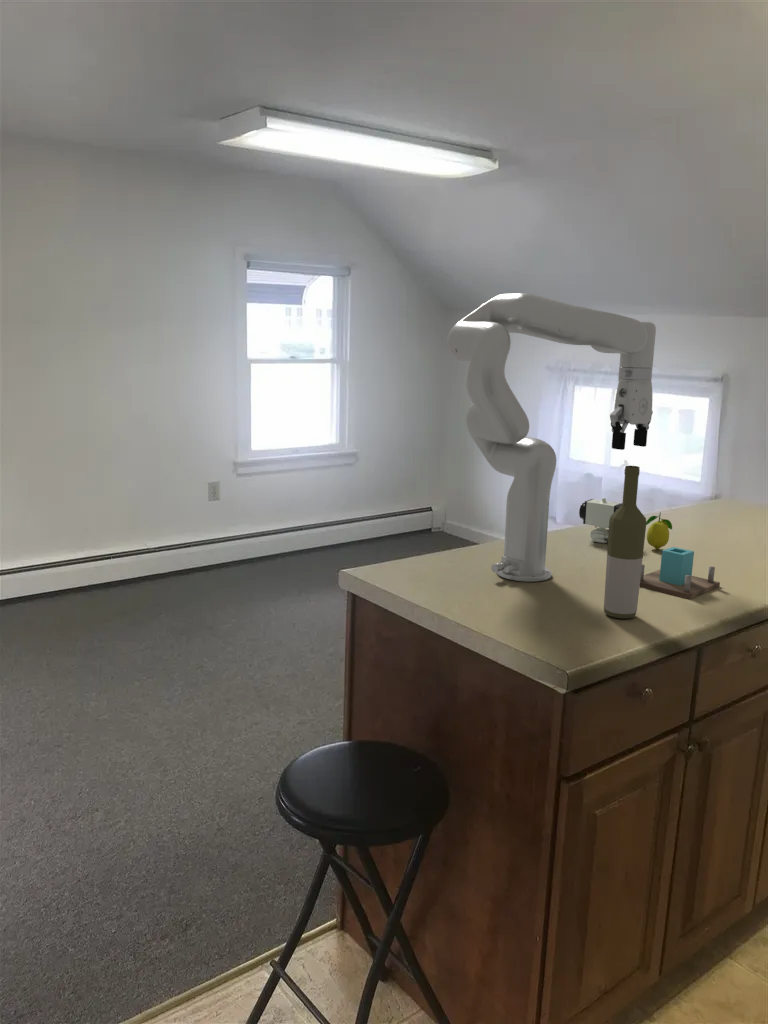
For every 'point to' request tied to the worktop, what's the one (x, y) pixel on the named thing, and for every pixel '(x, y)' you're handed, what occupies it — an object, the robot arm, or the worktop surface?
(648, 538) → the lemon
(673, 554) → the hollow square block
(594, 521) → the pneumatic valve
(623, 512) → the bottle
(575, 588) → the worktop surface
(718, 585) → the pegboard
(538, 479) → the robot arm
